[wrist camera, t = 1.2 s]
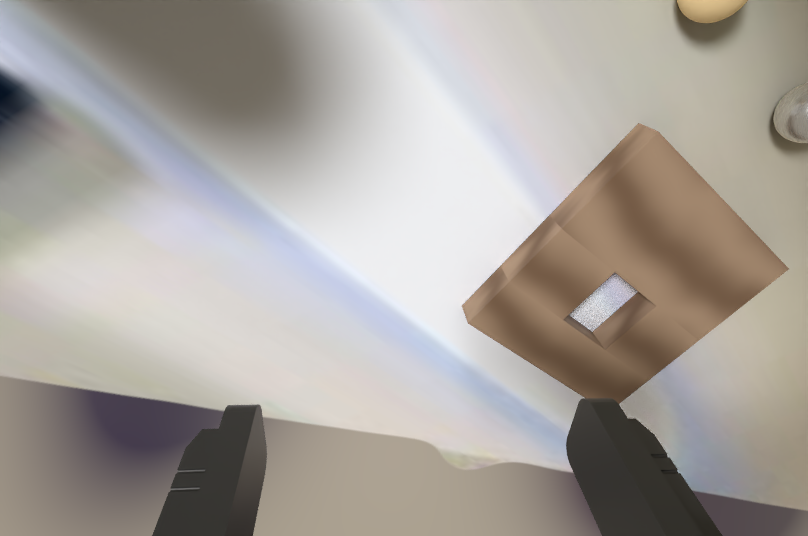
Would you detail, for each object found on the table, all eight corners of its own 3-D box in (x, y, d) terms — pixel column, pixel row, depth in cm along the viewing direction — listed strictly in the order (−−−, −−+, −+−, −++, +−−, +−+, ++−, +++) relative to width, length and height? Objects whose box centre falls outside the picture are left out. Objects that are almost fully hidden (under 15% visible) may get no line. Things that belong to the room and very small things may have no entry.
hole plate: (638, 123, 33) (658, 131, 31) (765, 254, 40) (788, 268, 38) (461, 305, 40) (467, 323, 38) (596, 393, 46) (608, 412, 44)
